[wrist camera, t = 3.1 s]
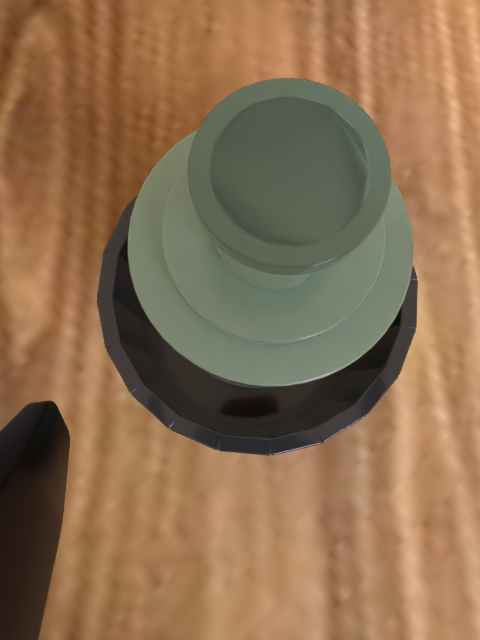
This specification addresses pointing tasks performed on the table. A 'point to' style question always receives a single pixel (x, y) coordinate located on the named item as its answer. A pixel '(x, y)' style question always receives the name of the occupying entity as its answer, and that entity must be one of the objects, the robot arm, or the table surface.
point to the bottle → (273, 237)
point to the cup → (230, 401)
